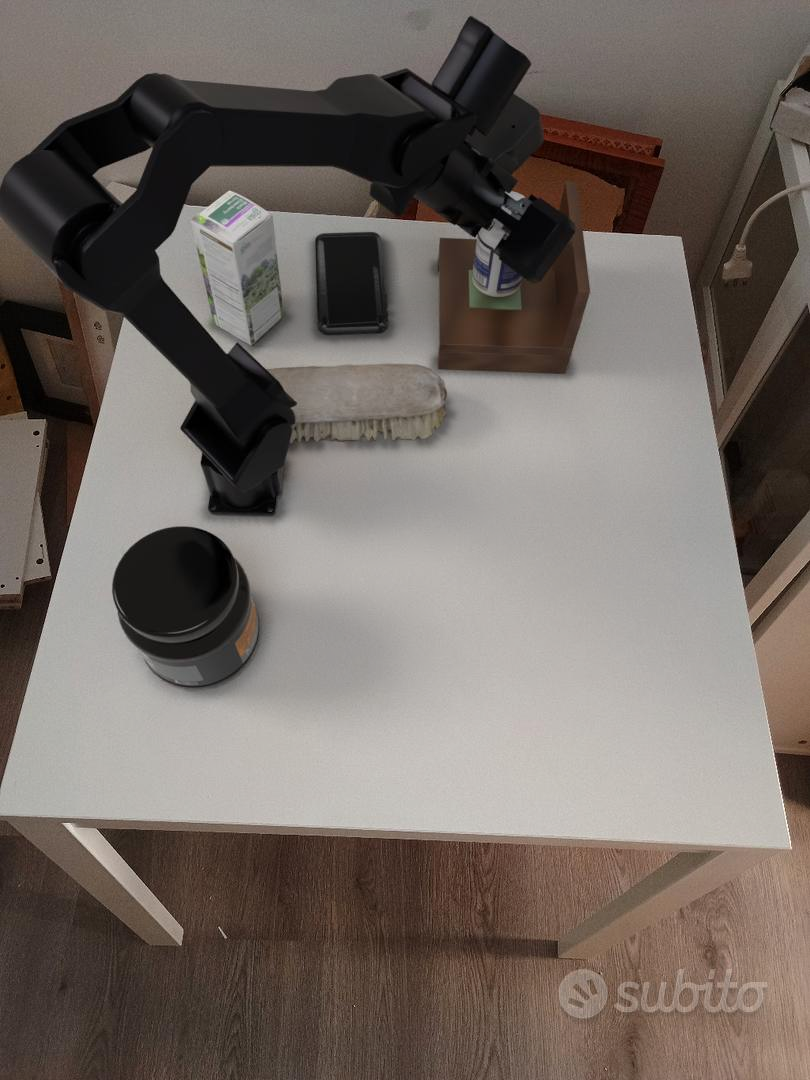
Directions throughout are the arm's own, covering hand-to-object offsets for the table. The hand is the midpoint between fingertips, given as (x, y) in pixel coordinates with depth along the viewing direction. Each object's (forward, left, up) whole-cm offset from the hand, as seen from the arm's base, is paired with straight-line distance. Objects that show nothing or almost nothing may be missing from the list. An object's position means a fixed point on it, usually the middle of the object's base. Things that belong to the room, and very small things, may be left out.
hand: (514, 224), depth 83 cm
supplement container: (-28, -41, -12) cm, 51 cm away
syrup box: (-28, -3, -12) cm, 31 cm away
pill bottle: (-1, -1, -7) cm, 7 cm away
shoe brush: (-18, -16, -12) cm, 27 cm away
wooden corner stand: (0, -1, -12) cm, 12 cm away
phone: (-17, +3, -12) cm, 21 cm away
